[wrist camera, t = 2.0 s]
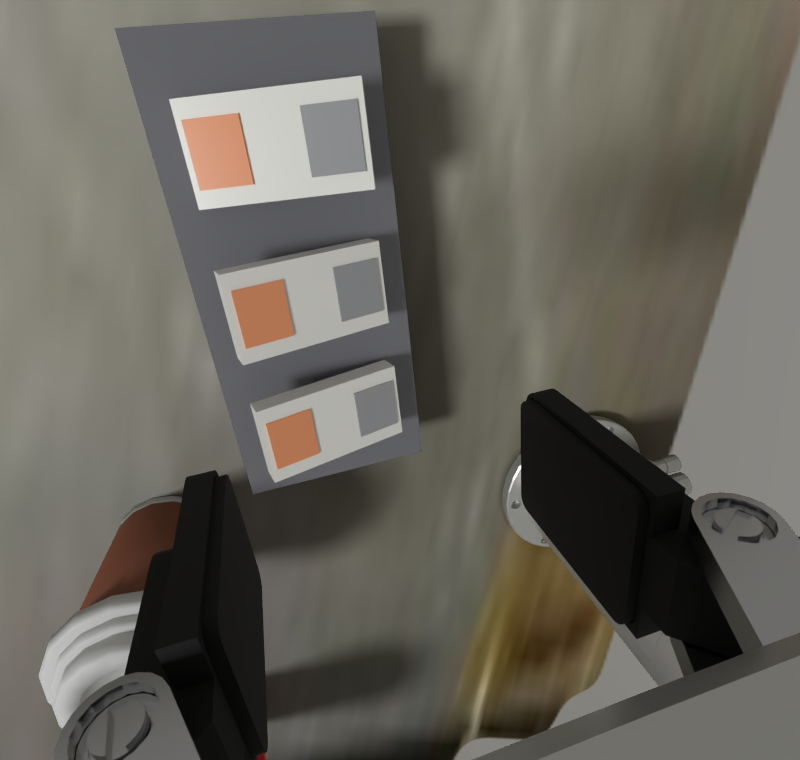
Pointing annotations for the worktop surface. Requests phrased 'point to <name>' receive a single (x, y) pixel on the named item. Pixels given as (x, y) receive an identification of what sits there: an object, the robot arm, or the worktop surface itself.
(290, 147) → the rocker near
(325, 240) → the rocker switch panel
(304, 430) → the plate
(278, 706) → the worktop surface
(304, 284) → the rocker middle
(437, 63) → the worktop surface
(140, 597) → the coffee cup
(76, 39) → the worktop surface
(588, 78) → the worktop surface
